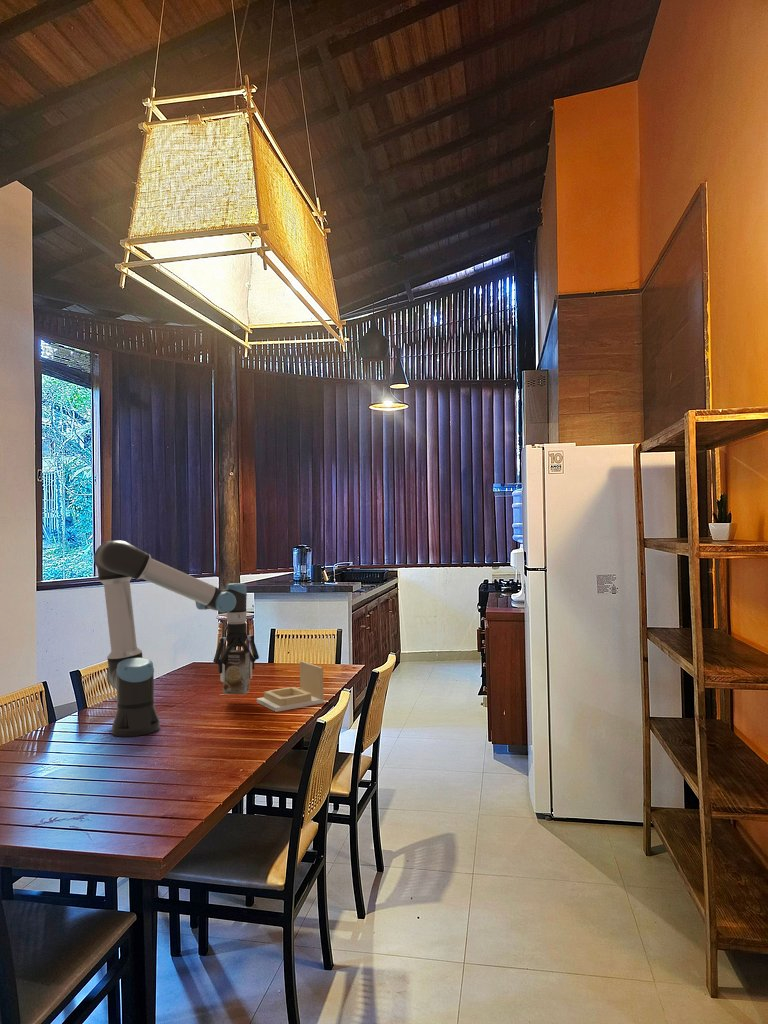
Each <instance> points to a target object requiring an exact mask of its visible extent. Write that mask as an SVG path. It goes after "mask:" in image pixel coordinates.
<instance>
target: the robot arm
mask: <svg viewBox="0 0 768 1024" xmlns="http://www.w3.org/2000/svg"><path fill="white" fill-rule="evenodd" d="M93 560H94V561H93V562H94V564H95V566H96V568H97V576H98V577H97V578H98V581H99V582H100V583H102V584H103V589H104V598H105V606H106V607H105V608H106V615H107V624H108V634H109V642H110V653H109V654H108V655H107V656H106V657H107V659H106V660H107V671H106V678H107V681H108V683H109V684H110V686H111V687H112V688H113V689H115V690H116V697H117V698H116V699H117V700H116V701H117V703H116V704H117V705H116V706H117V709H116V712H115V716H114V720H113V722H112V727H111V734H112V736H115V737H120V738H121V737H124V738H126V737H127V738H128V737H131V738H132V737H138V736H139V737H140V736H145V735H147V734H152V733H155V732H156V731H159V729H160V728H161V727H160V726H161V724H160V722H161V721H160V719H159V715H158V713H157V709H156V707H155V696H154V694H155V690H154V689H155V686H154V683H155V681H154V675H155V668H154V664H153V662H152V660H151V659H148V658H144V657H143V651H142V649H140V648H138V646H137V644H138V643H137V637H136V627H135V619H134V609H133V608H134V607H133V600H132V591H131V582H130V581H131V580H132V579H135V580H140V579H142V580H145V581H147V582H149V583H152V584H154V585H156V586H158V587H161V588H163V589H166V590H169V591H170V592H174V593H176V594H177V595H180V596H183V597H184V598H187V599H190V600H192V601H194V602H195V607H196V609H197V610H201V611H202V610H203V611H204V610H205V611H206V610H212V611H216V612H220V613H223V614H224V613H225V614H226V622H227V624H226V636H224V637H221V636H220V637H219V638H218V645H217V648H216V651H215V654H214V657H213V662H212V663H213V664H217V673H218V674H220V678H219V679H220V682H222V683H223V682H225V665H224V664H223V663H224V661H225V659H226V657H227V655H228V654H229V652H230V650H233V648H236V647H237V648H240V647H241V648H242V650H245V651H249V650H250V649H251V650H250V651H249V657H250V677H249V680H251V679H253V670H255V662H256V660H259V659H260V656H259V652H258V650H257V647H256V643H255V635H254V634H249V635H247V623H246V622H247V599H248V598H247V596H248V594H247V593H248V592H247V585H246V584H245V583H244V582H235V583H234V582H233V583H228V584H226V588H222V589H221V588H219V587H216V586H214V585H212V584H210V583H209V582H205V581H203V580H200V579H199V578H197V577H194V576H192V575H189V574H187V573H186V572H184V571H182V570H179V569H176V568H174V567H172V566H169V565H168V564H165V563H163V562H160V561H158V560H157V559H154V558H152V556H151V554H150V553H148V552H146V551H143V550H142V549H140V548H138V547H136V546H135V545H133V544H131V543H129V542H127V541H125V540H120V539H119V540H108V541H107V540H106V541H104V542H103V543H102V544H100V545H99V546H98V547H97V549H95V553H94V557H93ZM246 641H248V642H249V646H250V649H249V647H248V646H247V643H246ZM226 642H227V644H226V646H225V649H224V650H223V648H224V645H225V643H226Z"/></svg>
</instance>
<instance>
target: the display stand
mask: <svg viewBox="0 0 768 1024" xmlns="http://www.w3.org/2000/svg"><path fill="white" fill-rule="evenodd" d="M299 684H300V685H299V688H298V687H296V686H290V687H289V686H288V687H283V688H278V689H271V690H266V691H264V692H263V697H257V698H256V703H257V704H259V705H261V706H263V707H265V708H267V709H268V710H271V711H272V712H274V711H275V712H276V713H277V712H284V711H288V710H293V709H300V708H304V707H310V706H311V707H312V706H315V705H320V704H325V703H324V702H325V698H324V696H325V695H324V692H325V691H324V667H322V666H319V665H316V664H313V663H310V662H307V661H305V660H304V661H303V660H300V661H299Z"/></svg>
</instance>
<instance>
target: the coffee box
mask: <svg viewBox="0 0 768 1024" xmlns="http://www.w3.org/2000/svg"><path fill="white" fill-rule="evenodd" d="M249 651H250V652H251V650H250V649H249ZM249 651H245V650H243V649H231V650H230V652H229V654H228V655H227V657H226V659H225V661H224V663H223V664H224V665H225V682H222V695H223V694H224V695H246V694H248V693H249V692H250V678H249V677H250V657H249Z"/></svg>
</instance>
